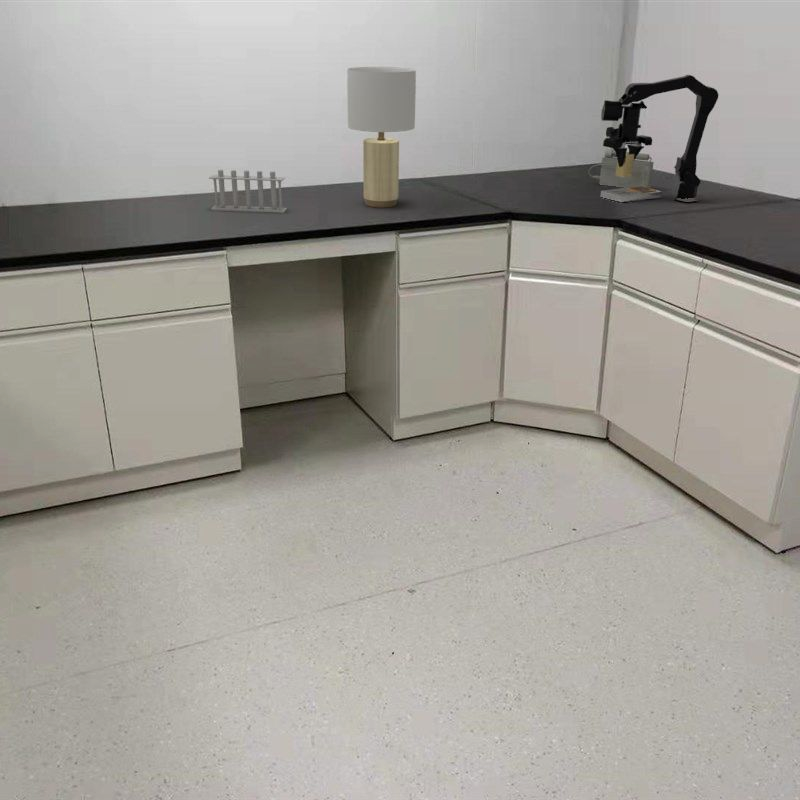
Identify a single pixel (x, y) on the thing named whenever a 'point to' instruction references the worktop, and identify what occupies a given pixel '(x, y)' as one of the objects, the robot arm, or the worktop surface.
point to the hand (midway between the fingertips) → (624, 166)
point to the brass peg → (625, 166)
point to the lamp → (381, 125)
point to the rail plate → (630, 193)
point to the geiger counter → (638, 177)
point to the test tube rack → (248, 192)
